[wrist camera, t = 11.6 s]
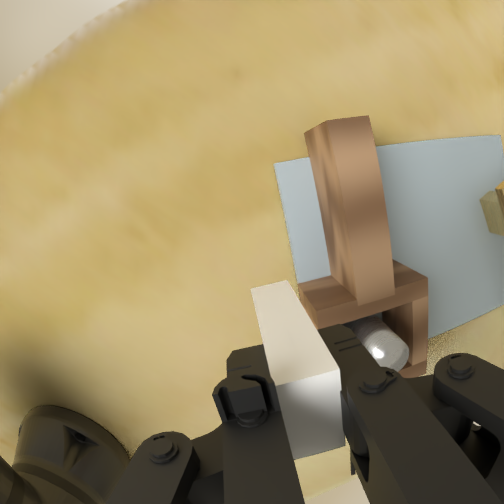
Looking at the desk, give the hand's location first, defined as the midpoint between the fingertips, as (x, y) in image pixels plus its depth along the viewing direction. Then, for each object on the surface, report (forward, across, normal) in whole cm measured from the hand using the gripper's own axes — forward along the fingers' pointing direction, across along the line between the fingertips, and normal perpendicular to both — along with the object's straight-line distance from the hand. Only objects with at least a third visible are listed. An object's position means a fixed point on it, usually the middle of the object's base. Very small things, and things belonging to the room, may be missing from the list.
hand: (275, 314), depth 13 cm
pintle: (+14, +8, -8) cm, 18 cm away
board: (+14, +16, -4) cm, 22 cm away
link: (+13, +8, -2) cm, 16 cm away
